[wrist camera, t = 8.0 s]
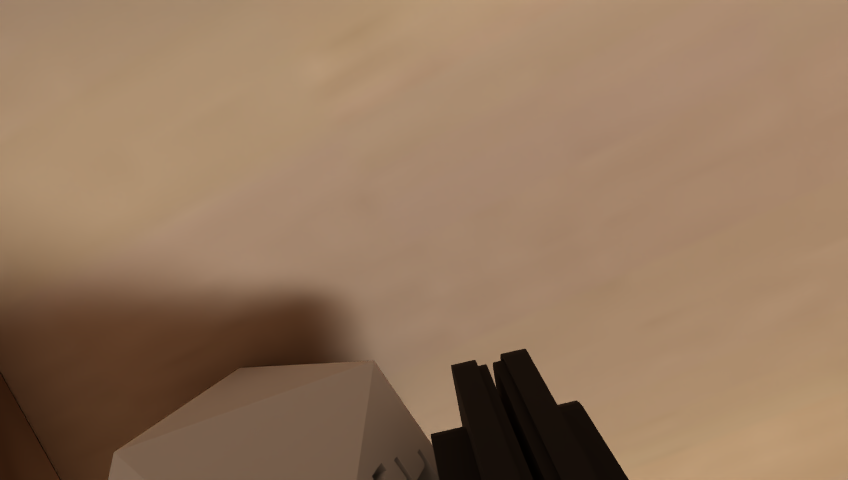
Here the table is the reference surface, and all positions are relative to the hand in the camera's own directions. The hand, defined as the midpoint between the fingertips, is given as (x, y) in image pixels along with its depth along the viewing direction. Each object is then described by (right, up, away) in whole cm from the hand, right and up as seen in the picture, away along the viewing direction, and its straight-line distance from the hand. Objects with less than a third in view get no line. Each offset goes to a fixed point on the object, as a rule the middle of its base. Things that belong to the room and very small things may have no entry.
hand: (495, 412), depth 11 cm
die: (-5, -2, +4) cm, 7 cm away
